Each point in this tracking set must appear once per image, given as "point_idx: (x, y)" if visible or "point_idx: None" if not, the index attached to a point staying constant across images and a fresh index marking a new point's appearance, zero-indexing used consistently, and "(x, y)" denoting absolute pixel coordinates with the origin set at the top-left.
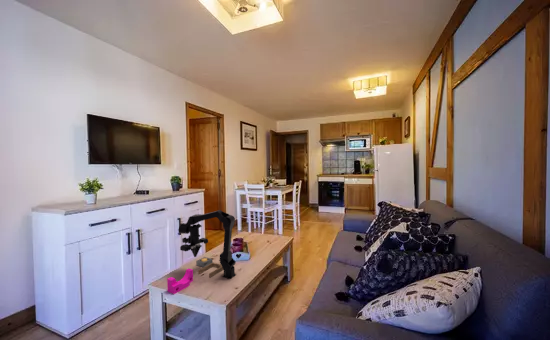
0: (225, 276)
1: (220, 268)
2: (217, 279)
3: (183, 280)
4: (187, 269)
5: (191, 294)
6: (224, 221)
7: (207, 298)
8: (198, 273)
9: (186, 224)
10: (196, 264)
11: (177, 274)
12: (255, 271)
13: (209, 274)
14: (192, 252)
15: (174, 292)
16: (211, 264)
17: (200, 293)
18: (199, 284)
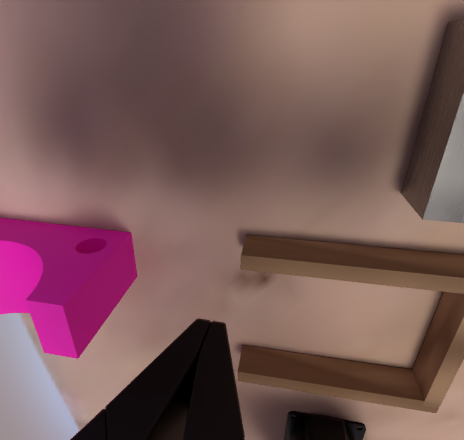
0: (292, 432)
1: (370, 397)
2: (245, 399)
3: (32, 274)
4: (37, 310)
5: (47, 356)
6: None
7: (84, 426)
8: (245, 239)
9: None
10: (455, 23)
11: (116, 11)
12: None
13: (238, 368)
14: (104, 413)
15: None
16: (441, 288)
17: (84, 387)
18: (136, 338)
